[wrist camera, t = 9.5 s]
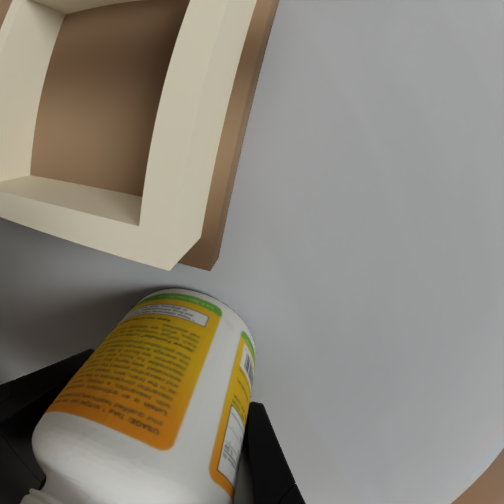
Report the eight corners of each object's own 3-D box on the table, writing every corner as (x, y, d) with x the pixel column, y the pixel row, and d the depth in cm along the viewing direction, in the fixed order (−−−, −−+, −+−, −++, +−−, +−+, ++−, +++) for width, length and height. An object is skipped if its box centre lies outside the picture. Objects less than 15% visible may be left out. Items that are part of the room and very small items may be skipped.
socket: (200, 237, 8) (169, 271, 6) (18, 192, 9) (-28, 206, 6) (262, -17, 6) (253, -65, 3) (59, 2, 6) (19, -15, 3)
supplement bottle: (110, 329, 11) (-19, 496, 2) (184, 255, 10) (-22, 518, 1) (197, 404, 12) (136, 584, 3) (286, 354, 11) (267, 617, 2)
